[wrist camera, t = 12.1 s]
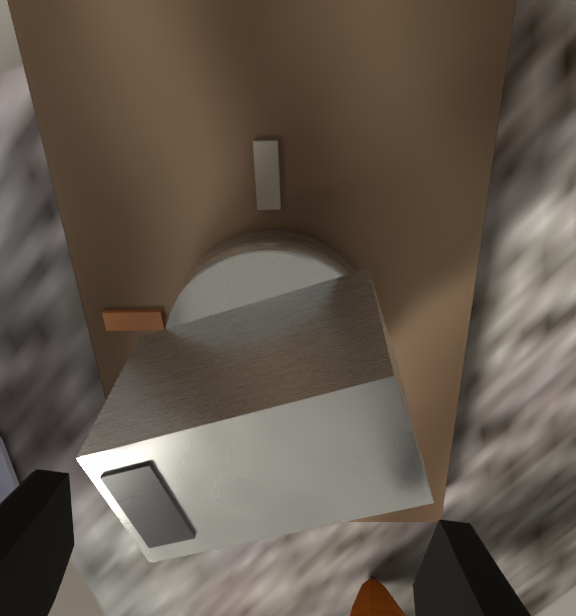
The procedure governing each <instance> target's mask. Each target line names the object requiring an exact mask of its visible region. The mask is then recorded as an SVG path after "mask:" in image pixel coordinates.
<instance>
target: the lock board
mask: <svg viewBox="0 0 576 616" xmlns="http://www.w3.org/2000/svg"><path fill="white" fill-rule="evenodd" d="M7 1H8V5H9V9H10V12H11V17H12V21H13V25H14V29H15V33H16V37H17V41H18V45H19V49H20V53H21V57H22V61H23V66H24V70H25V74H26V78H27V82H28V86H29V90H30V94H31V98H32V102H33V106H34V110H35V114H36V118H37V122H38V126H39V131H40V135H41V139H42V143H43V147H44V151H45V155H46V159H47V163H48V167H49V171H50V175H51V179H52V183H53V187H54V191H55V195H56V200H57V204H58V208H59V212H60V216H61V220H62V224H63V228H64V232H65V236H66V240H67V244H68V248H69V252H70V256H71V260H72V265H73V269H74V273H75V277H76V281H77V285H78V289H79V293H80V297H81V301H82V305H83V309H84V313H85V317H86V321H87V325H88V329H89V334H90V338H91V342H92V346H93V350H94V354H95V358H96V362H97V366H98V370H99V374H100V378H101V382H102V386H103V390H104V394H105V399H106V400H107V398H108V396H109V394H110V392H111V390H112V388H113V387H114V385H115V383H116V381H117V379H118V377H119V375H120V373H121V371H122V369H123V368H124V366H125V364H126V362H127V360H128V358H129V356H130V354H131V352H132V350H133V349H134V347H135V345H136V343H137V341H138V339H139V337H141V336H144V335H147V334H151V333H154V332H157V331H161V330H164V329H166V325H167V322H168V319H169V316H170V313H171V311H172V308H173V306H174V304H175V302H176V300H177V298H178V295H179V293H180V291H181V289H182V287H183V285H184V283H185V281H186V279H187V277H188V275H189V273H190V271H191V270H192V269H193V267H194V266H195V265H196V263H197V262H198V261H199V260H200V259H201V258H202V257H203V256H204V255H205V254H206V253H207V252H209V251H210V250H211V249H212V248H214V247H215V246H217V245H219V244H220V243H222V242H224V241H226V240H228V239H230V238H233V237H235V236H238V235H241V234H245V233H249V232H253V231H261V230H283V231H291V232H296V233H300V234H304V235H307V236H310V237H312V238H315V239H317V240H320V241H321V242H323V243H325V244H327V245H329V246H331V247H332V248H333V249H335V250H336V251H337V252H339V253H340V254H341V255H342V256H343V257H344V258H346V259H347V260H348V261H349V262H350V263H351V265H352V266H353V267H354V268H355V270H356V271H357V272H358V271H361V270H365V269H368V268H369V272H370V275H371V278H372V281H373V285H374V288H375V291H376V294H377V298H378V301H379V304H380V307H381V311H382V314H383V317H384V321H385V324H386V327H387V330H388V334H389V337H390V340H391V343H392V347H393V350H394V353H395V356H396V360H397V363H398V366H399V370H400V373H401V377H402V381H403V385H404V389H405V392H406V396H407V400H408V404H409V408H410V412H411V416H412V420H413V423H414V427H415V431H416V435H417V439H418V443H419V447H420V451H421V454H422V458H423V462H424V466H425V470H426V474H427V478H428V482H429V485H430V489H431V493H432V497H433V501H434V503H432V504H427V505H423V506H418V507H413V508H408V509H404V510H399V511H394V512H389V513H385V514H380V515H375V516H370V517H366V518H361V519H356V520H351V521H347V522H438V521H439V520H441V517H442V510H443V503H444V497H445V490H446V483H447V476H448V469H449V462H450V455H451V448H452V441H453V434H454V427H455V420H456V413H457V406H458V399H459V392H460V385H461V378H462V371H463V365H464V358H465V351H466V344H467V337H468V330H469V323H470V316H471V309H472V302H473V295H474V288H475V281H476V274H477V267H478V260H479V253H480V246H481V240H482V233H483V226H484V219H485V212H486V205H487V198H488V191H489V184H490V177H491V170H492V163H493V156H494V149H495V142H496V135H497V128H498V121H499V114H500V108H501V101H502V94H503V87H504V80H505V73H506V66H507V59H508V52H509V45H510V38H511V31H512V24H513V17H514V10H515V3H516V0H7Z"/></svg>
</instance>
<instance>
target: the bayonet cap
mask: <svg viewBox="0 0 576 616" xmlns="http://www.w3.org/2000/svg"><path fill="white" fill-rule="evenodd" d="M76 459H77V461H78V462H79V463H80V465H81V466H82V468H83V469H84V470H85V472H86V473H87V475H88V476H89V478H90V479H91V480H92V482H93V483H94V485H95V486H96V487H97V489H98V490H99V492H100V493H101V494H102V496H103V497H104V499H105V500H106V502H107V503H108V504H109V506H110V507H111V509H112V510H113V511H114V513H115V514H116V516H117V517H118V518H119V520H120V521H121V523H122V524H123V525H124V527H125V528H126V530H127V531H128V533H129V534H130V535H131V537H132V538H133V540H134V541H135V542H136V544H137V545H138V547H139V548H140V549H141V551H142V552H143V554H144V555H145V556H146V558H147V559H148V561H149V562H150V563H152V562H157V561H161V560H166V559H171V558H176V557H180V556H185V555H190V554H195V553H199V552H204V551H209V550H214V549H218V548H223V547H228V546H233V545H237V544H242V543H247V542H252V541H256V540H261V539H266V538H271V537H275V536H280V535H285V534H290V533H294V532H299V531H304V530H309V529H313V528H318V527H323V526H328V525H332V524H337V523H342V522H347V521H351V520H356V519H361V518H366V517H370V516H375V515H380V514H385V513H389V512H394V511H399V510H404V509H408V508H413V507H418V506H423V505H427V504H432V503H434V501H433V497H432V493H431V489H430V485H429V482H428V478H427V474H426V470H425V466H424V462H423V458H422V454H421V451H420V447H419V443H418V439H417V435H416V431H415V427H414V423H413V420H412V416H411V412H410V408H409V404H408V400H407V396H406V392H405V389H404V385H403V381H402V377H401V373H400V370H399V366H398V363H397V360H396V356H395V353H394V350H393V347H392V343H391V340H390V337H389V334H388V330H387V327H386V324H385V321H384V317H383V314H382V311H381V307H380V304H379V301H378V298H377V294H376V291H375V288H374V285H373V281H372V278H371V275H370V272H369V268H368V269H365V270H361V271H358V272H357V271H356V270H355V268H354V267H353V266H352V265H351V263H350V262H349V261H348V260H347V259H346V258H344V257H343V256H342V255H341V254H340V253H339V252H337V251H336V250H335V249H333V248H332V247H331V246H329V245H327V244H325V243H323V242H321V241H320V240H317V239H315V238H312V237H310V236H307V235H304V234H300V233H296V232H291V231H283V230H261V231H253V232H249V233H245V234H241V235H238V236H235V237H233V238H230V239H228V240H226V241H224V242H222V243H220V244H219V245H217V246H215V247H214V248H212V249H211V250H210V251H209V252H207V253H206V254H205V255H204V256H203V257H202V258H201V259H200V260H199V261H198V262H197V263H196V265H195V266H194V267H193V269H192V270H191V271H190V273H189V275H188V277H187V279H186V281H185V283H184V285H183V287H182V289H181V291H180V293H179V295H178V298H177V300H176V302H175V304H174V306H173V308H172V311H171V313H170V316H169V319H168V322H167V325H166V329H164V330H161V331H157V332H154V333H151V334H147V335H144V336H141V337H139V339H138V341H137V343H136V345H135V347H134V349H133V350H132V352H131V354H130V356H129V358H128V360H127V362H126V364H125V366H124V368H123V369H122V371H121V373H120V375H119V377H118V379H117V381H116V383H115V385H114V387H113V388H112V390H111V392H110V394H109V396H108V398H107V400H106V402H105V404H104V406H103V407H102V409H101V411H100V413H99V415H98V417H97V419H96V421H95V423H94V425H93V426H92V428H91V430H90V432H89V434H88V436H87V438H86V440H85V442H84V444H83V446H82V447H81V449H80V451H79V453H78V455H77V457H76Z"/></svg>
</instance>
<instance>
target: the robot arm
mask: <svg viewBox="0 0 576 616" xmlns="http://www.w3.org/2000/svg"><path fill="white" fill-rule="evenodd" d="M73 547H74V533H73V520H72V507H71V494H70V481H69V473H62V472H54V471H46V470H38V469H37V470H35V471H34V472H32V473H31V474H30V475H29V476H28V477H27V478H26V479H25V480H24V481H23V482H22V483H21V484H20V485H19V482H18V479H17V477H16V474H15V471H14V469H13V466H12V463H11V461H10V458H9V456H8V453H7V450H6V448H5V445H4V442H3V440H2V438H1V436H0V616H47V615H48V614H49V611H50V609H51V607H52V605H53V603H54V601H55V598H56V595H57V592H58V590H59V587H60V584H61V582H62V579H63V576H64V573H65V570H66V567H67V564H68V562H69V559H70V556H71V553H72V550H73ZM413 591H414V603H415V615H416V616H531V615H530V614H529V612H528V611H527V609H526V608H525V606H524V605H523V603H522V602H521V600H520V599H519V597H518V596H517V595H516V593H515V591H514V590H513V588H512V587H511V585H510V584H509V582H508V581H507V579H506V578H505V576H504V575H503V573H502V572H501V570H500V569H499V567H498V566H497V564H496V563H495V561H494V559H493V558H492V556H491V555H490V553H489V552H488V550H487V549H486V547H485V546H484V544H483V542H482V541H481V539H480V538H479V536H478V535H477V533H476V532H475V530H474V529H473V527H472V526H471V524H470V523H463V522H455V521H447V520H439V521H438V524H437V526H436V529H435V531H434V534H433V536H432V539H431V541H430V544H429V546H428V549H427V551H426V554H425V556H424V559H423V561H422V564H421V566H420V569H419V571H418V574H417V576H416V579H415V581H414V584H413Z"/></svg>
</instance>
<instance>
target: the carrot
mask: <svg viewBox="0 0 576 616" xmlns="http://www.w3.org/2000/svg"><path fill="white" fill-rule="evenodd" d="M350 616H405V615H404V613H403V611H402V610H401V608H400V607H399V606H398V604H397V603H396V601H395V600H394V599H393V597H392V596H391V595H390V593H389V592H388V590H387V589H386V588H385V586H383V585H382V584H381V583H380V582H379V581H377V580H376V579H374V578H370V579H368V580H367V581H366V582H365V583H364V584H362V586H361V589H360V591H359V593H358V595H357V597H356V600H355V602H354V604H353V606H352V610H351V613H350Z"/></svg>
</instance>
